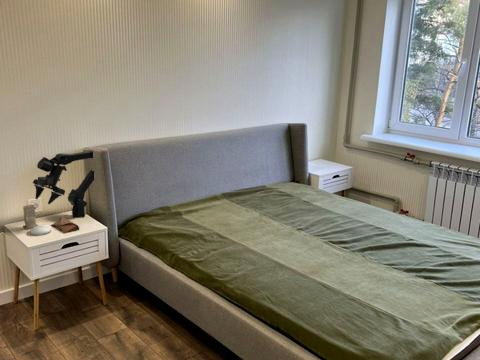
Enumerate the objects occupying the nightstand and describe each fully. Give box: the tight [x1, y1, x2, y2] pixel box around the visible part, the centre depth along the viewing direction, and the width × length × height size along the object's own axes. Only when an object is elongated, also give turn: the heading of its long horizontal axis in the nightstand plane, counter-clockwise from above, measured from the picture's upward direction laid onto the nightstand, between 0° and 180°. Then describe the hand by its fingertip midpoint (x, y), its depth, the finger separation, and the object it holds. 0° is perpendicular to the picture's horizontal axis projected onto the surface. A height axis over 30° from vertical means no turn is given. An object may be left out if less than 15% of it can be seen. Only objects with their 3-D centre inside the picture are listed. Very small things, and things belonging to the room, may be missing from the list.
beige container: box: [22, 204, 39, 231], centre depth 249 cm, size 5×6×12 cm
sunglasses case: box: [50, 216, 80, 235], centre depth 251 cm, size 18×7×7 cm, turn 47°
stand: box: [29, 224, 52, 236], centre depth 244 cm, size 10×10×2 cm
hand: (42, 201), depth 250 cm, fingers open, 9 cm apart
